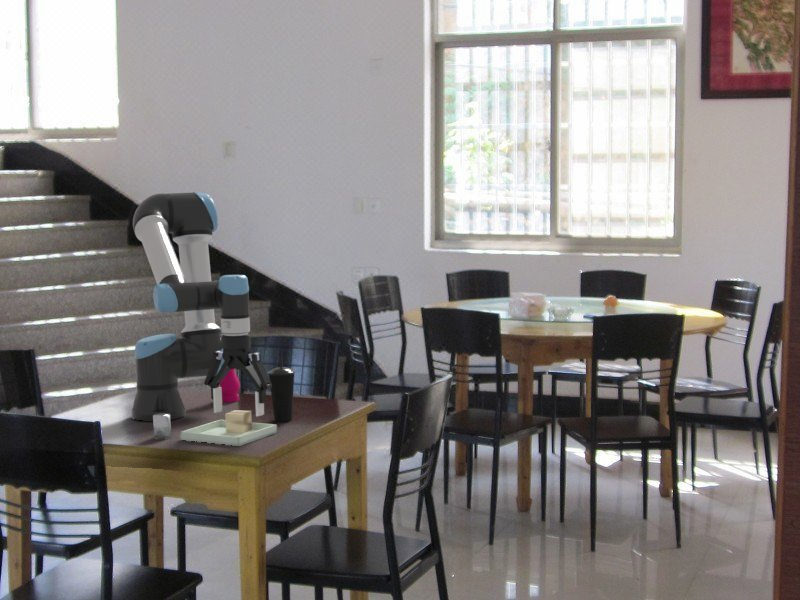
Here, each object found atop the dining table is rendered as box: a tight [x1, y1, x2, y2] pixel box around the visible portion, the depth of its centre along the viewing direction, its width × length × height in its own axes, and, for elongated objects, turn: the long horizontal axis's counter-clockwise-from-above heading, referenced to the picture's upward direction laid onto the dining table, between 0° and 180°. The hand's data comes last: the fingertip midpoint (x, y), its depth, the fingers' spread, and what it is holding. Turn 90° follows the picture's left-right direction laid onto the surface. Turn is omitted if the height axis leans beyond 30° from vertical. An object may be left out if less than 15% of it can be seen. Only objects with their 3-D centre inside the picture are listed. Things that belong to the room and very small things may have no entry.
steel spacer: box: [152, 413, 172, 440], centre depth 285 cm, size 4×4×6 cm
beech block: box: [224, 409, 252, 433], centre depth 288 cm, size 5×5×5 cm
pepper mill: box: [218, 369, 241, 403], centre depth 336 cm, size 7×7×20 cm
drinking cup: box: [267, 348, 296, 423], centre depth 304 cm, size 8×8×20 cm
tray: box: [179, 419, 278, 447], centre depth 284 cm, size 19×17×2 cm
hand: (238, 413), depth 288 cm, fingers open, 13 cm apart
